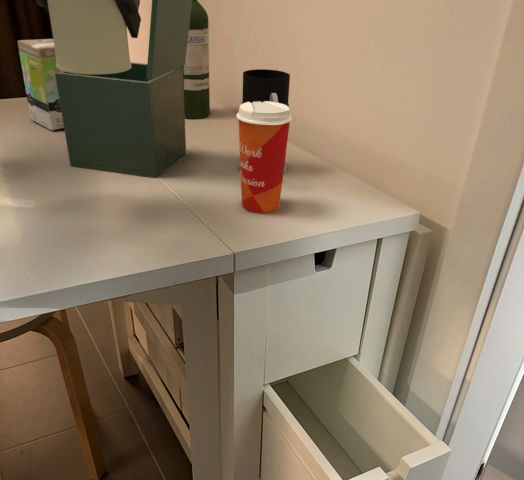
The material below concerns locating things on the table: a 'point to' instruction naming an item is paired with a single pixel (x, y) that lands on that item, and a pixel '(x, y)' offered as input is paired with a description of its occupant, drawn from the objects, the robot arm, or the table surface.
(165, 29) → the lid
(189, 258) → the table surface
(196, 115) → the wine bottle
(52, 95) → the tea box
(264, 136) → the paper cup
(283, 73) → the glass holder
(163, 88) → the dark green square box
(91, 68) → the can
